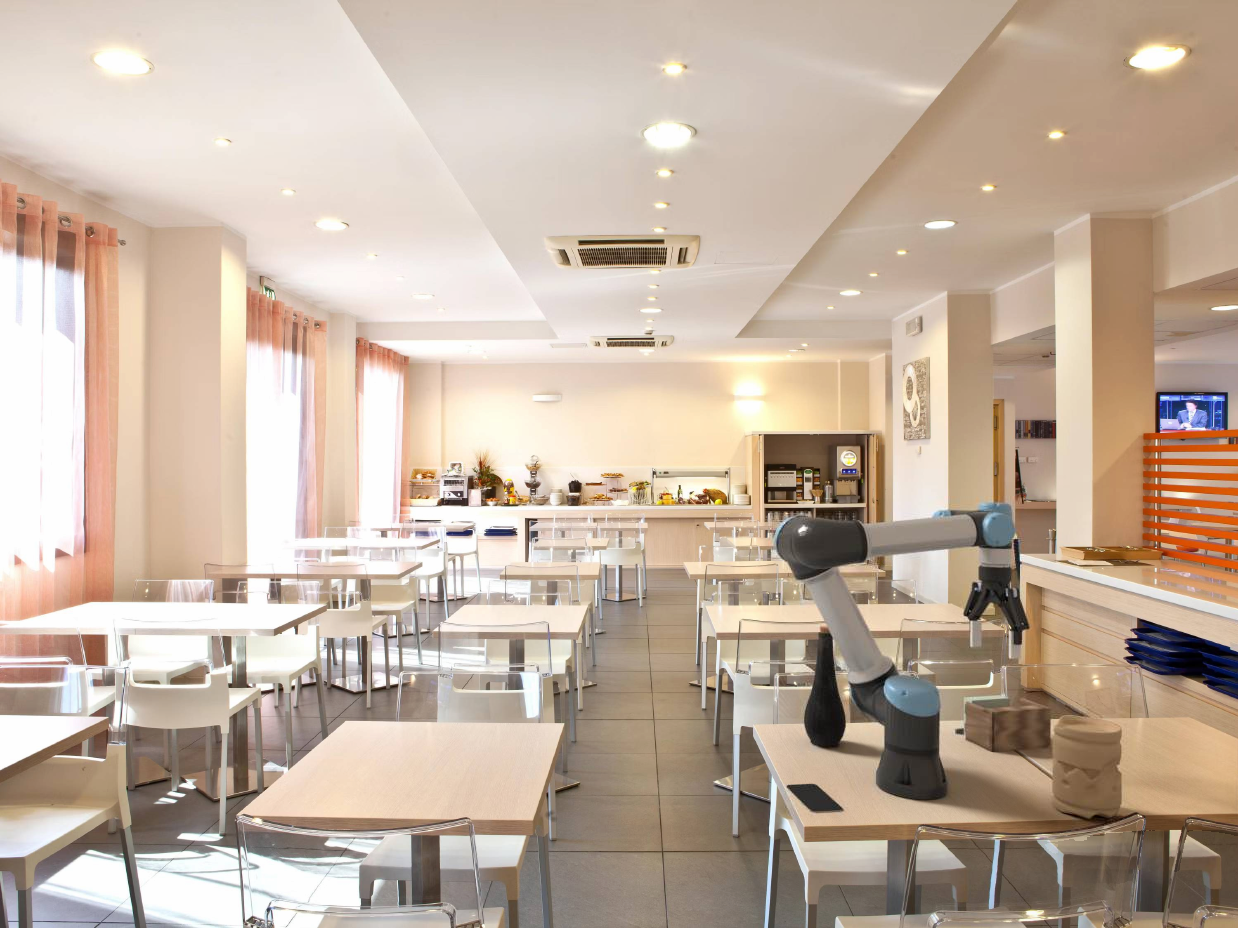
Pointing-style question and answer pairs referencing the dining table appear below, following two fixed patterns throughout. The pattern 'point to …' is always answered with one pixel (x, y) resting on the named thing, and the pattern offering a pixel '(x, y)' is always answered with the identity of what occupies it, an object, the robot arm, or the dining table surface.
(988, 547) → the robot arm
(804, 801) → the smartphone
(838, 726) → the bottle
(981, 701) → the door
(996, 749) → the cabinet
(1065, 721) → the container
